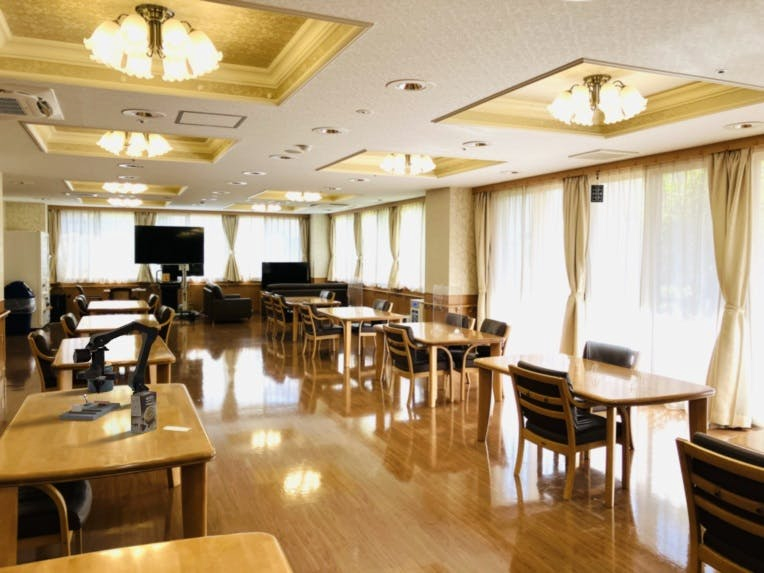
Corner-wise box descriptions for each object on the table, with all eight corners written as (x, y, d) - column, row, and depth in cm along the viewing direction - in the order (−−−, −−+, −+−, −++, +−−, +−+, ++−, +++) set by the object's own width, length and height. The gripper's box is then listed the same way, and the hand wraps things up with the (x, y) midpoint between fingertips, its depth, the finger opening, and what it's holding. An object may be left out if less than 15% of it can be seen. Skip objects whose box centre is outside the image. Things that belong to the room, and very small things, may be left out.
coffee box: (142, 434, 247) (142, 396, 245) (130, 432, 249) (129, 394, 248) (157, 428, 255) (157, 391, 254) (145, 426, 257) (145, 390, 256)
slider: (82, 410, 272) (81, 403, 272) (78, 412, 269) (77, 405, 269) (75, 410, 272) (75, 403, 272) (71, 412, 269) (71, 405, 269)
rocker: (109, 403, 285) (109, 401, 286) (101, 403, 279) (102, 400, 279) (101, 403, 286) (101, 400, 286) (93, 403, 279) (94, 400, 279)
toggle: (89, 401, 284) (86, 393, 283) (87, 402, 282) (84, 394, 282) (87, 402, 284) (83, 394, 284) (85, 403, 282) (81, 395, 282)
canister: (118, 387, 327) (118, 356, 326) (105, 393, 314) (104, 360, 313) (96, 386, 328) (95, 355, 327) (82, 392, 315) (81, 359, 314)
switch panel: (120, 407, 287) (119, 401, 287) (93, 420, 265) (93, 414, 264) (88, 405, 289) (88, 400, 289) (59, 419, 266) (59, 413, 266)
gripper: (68, 363, 271) (69, 397, 272) (107, 364, 270) (108, 398, 271) (83, 359, 282) (83, 391, 283) (120, 360, 281) (121, 392, 282)
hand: (98, 393), depth 279 cm, fingers closed
